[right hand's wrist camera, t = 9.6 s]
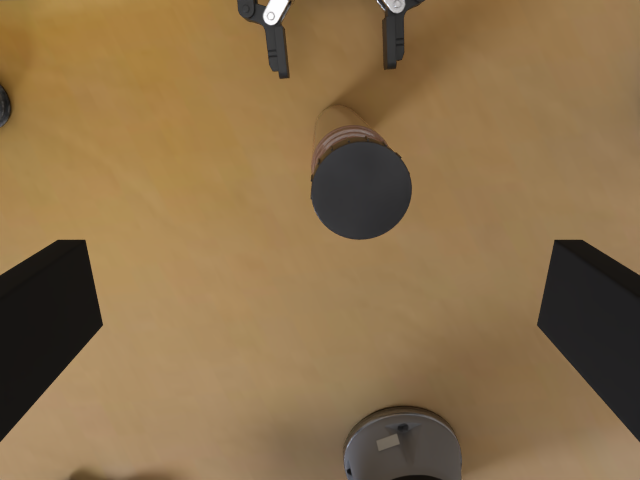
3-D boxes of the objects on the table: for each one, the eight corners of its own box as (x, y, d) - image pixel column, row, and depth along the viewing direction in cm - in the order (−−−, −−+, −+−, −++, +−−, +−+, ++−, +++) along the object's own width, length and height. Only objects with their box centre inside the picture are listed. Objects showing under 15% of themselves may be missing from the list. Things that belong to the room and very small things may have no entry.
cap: (291, 174, 20) (289, 181, 18) (371, 114, 19) (376, 117, 18) (346, 246, 21) (348, 258, 20) (424, 194, 20) (432, 203, 19)
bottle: (305, 123, 43) (287, 179, 19) (343, 95, 42) (375, 115, 18) (332, 161, 44) (347, 257, 20) (370, 134, 43) (431, 201, 19)
